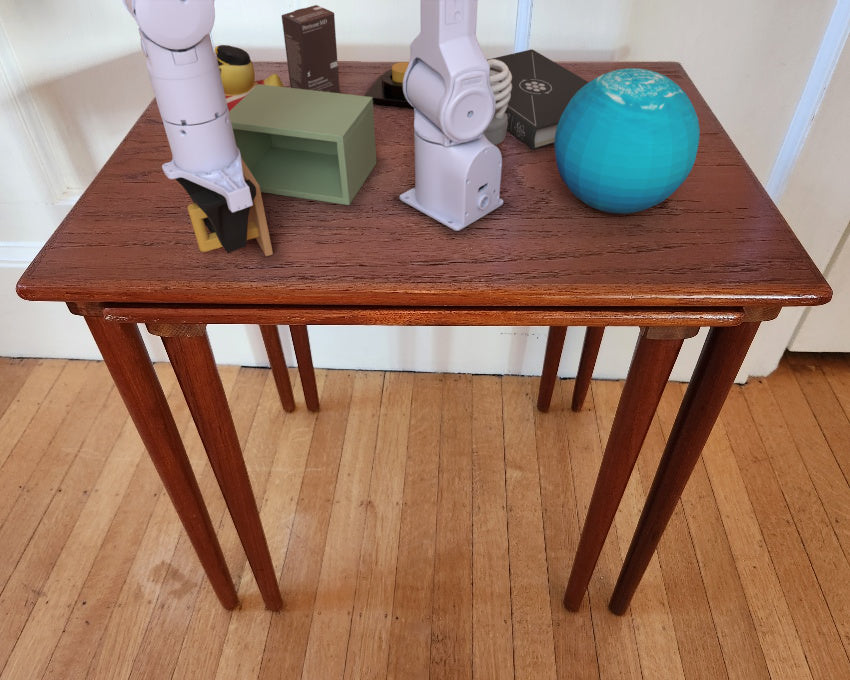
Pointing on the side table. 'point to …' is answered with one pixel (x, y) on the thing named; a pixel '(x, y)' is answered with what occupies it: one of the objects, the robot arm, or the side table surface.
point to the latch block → (388, 92)
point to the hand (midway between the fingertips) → (227, 238)
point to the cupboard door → (254, 230)
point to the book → (537, 96)
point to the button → (399, 71)
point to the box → (311, 49)
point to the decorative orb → (627, 141)
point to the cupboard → (306, 141)
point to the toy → (239, 74)
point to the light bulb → (500, 118)
